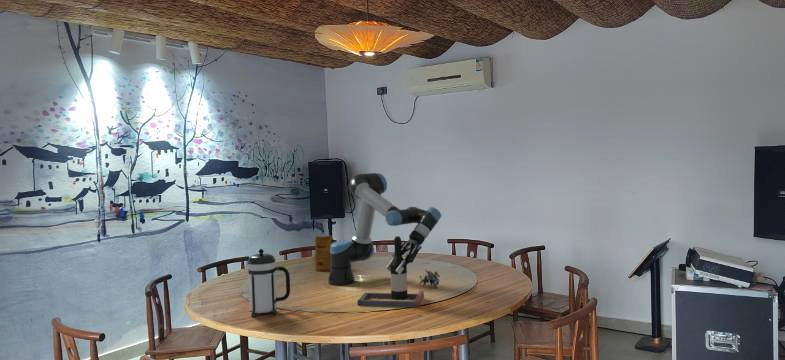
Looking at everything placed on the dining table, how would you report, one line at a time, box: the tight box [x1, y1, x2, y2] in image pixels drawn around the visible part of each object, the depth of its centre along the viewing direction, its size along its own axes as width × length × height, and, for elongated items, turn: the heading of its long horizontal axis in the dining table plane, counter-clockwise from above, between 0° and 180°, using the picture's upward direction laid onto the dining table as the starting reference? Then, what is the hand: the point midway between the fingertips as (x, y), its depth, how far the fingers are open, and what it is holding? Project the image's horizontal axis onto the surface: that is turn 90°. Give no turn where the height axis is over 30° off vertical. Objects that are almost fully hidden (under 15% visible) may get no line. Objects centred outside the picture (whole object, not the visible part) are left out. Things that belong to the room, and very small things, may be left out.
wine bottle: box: [389, 235, 409, 301], centre depth 257 cm, size 8×8×30 cm
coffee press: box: [243, 248, 291, 318], centre depth 247 cm, size 17×16×30 cm
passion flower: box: [419, 269, 441, 289], centre depth 287 cm, size 11×11×12 cm
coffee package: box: [313, 235, 333, 272], centre depth 342 cm, size 10×12×22 cm
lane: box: [357, 290, 425, 308], centre depth 259 cm, size 30×15×4 cm, turn 79°
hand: (392, 271), depth 255 cm, fingers closed on wine bottle, 8 cm apart
